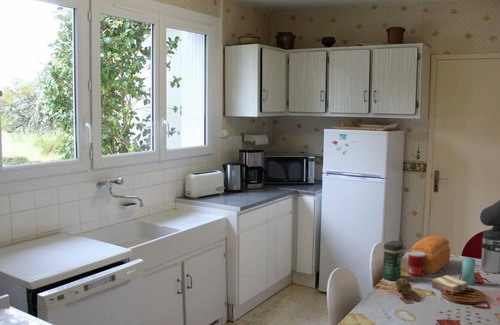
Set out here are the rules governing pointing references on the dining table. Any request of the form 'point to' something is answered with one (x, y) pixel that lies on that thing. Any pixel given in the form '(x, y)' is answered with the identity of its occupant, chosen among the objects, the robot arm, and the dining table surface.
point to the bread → (433, 252)
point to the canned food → (416, 263)
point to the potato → (403, 286)
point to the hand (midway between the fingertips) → (487, 244)
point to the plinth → (448, 284)
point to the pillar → (468, 270)
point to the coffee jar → (392, 260)
